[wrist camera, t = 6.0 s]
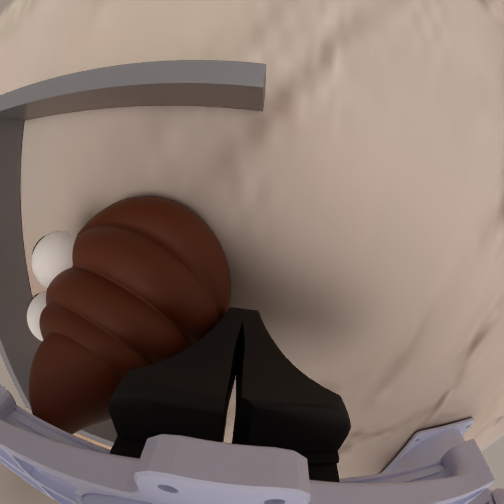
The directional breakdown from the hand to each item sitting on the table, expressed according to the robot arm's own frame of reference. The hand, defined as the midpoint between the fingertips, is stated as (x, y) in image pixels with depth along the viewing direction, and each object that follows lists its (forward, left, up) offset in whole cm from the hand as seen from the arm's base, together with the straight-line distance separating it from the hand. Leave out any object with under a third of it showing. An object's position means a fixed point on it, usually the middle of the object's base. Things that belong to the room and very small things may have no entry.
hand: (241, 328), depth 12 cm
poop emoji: (0, +5, -2) cm, 6 cm away
